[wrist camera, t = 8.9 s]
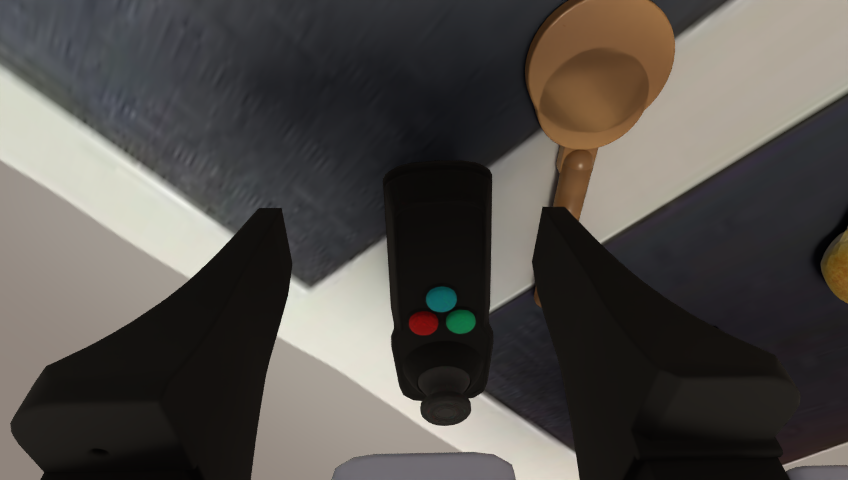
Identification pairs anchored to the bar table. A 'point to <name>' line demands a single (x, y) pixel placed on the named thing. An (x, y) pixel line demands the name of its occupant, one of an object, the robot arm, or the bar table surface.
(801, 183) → the bar table surface
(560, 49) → the spoon
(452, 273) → the controller
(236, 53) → the bar table surface
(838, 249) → the bread roll
